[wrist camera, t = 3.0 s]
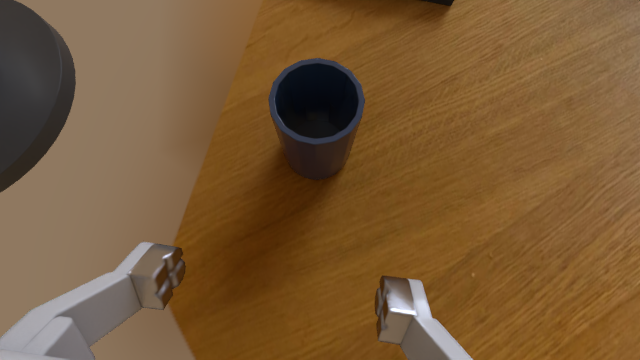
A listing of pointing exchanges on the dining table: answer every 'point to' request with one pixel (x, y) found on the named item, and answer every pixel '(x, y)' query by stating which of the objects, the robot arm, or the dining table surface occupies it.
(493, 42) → the dining table surface
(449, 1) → the scale
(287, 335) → the dining table surface
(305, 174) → the cup
